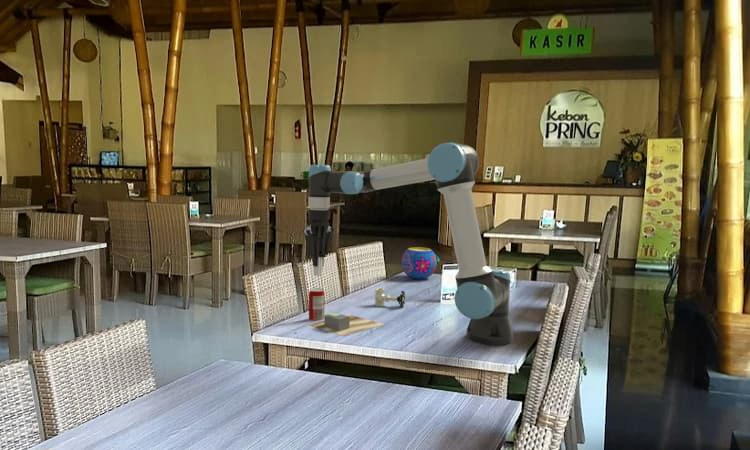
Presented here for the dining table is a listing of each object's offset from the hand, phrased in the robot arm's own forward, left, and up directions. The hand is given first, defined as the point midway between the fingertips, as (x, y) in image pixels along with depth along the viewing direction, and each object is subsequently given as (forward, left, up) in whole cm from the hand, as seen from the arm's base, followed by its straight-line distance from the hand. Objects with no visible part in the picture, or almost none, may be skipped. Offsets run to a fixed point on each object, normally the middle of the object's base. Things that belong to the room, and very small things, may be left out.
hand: (317, 275), depth 202 cm
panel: (-13, -2, -17) cm, 21 cm away
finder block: (-13, +3, -16) cm, 21 cm away
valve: (-2, -36, -17) cm, 40 cm away
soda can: (0, 0, -17) cm, 17 cm away
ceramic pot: (+25, -90, -17) cm, 95 cm away
